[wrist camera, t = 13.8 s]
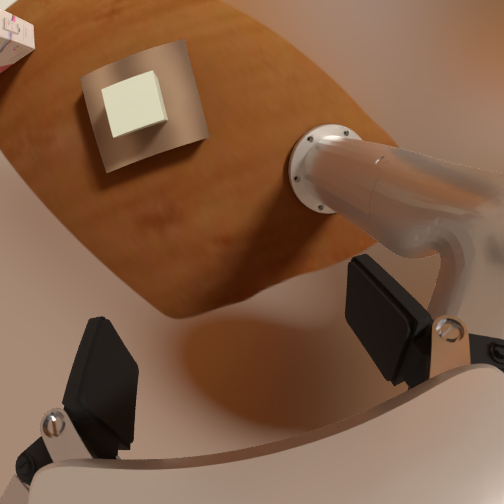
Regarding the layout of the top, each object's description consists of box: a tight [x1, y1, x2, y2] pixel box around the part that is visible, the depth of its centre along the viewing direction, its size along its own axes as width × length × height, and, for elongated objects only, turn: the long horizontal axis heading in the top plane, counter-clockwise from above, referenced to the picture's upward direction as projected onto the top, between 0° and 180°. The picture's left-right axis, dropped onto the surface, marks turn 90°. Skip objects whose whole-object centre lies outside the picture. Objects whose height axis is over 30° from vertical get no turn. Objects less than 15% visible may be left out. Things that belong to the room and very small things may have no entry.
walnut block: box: [80, 39, 210, 173], centre depth 25 cm, size 12×12×4 cm
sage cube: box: [101, 70, 168, 138], centre depth 21 cm, size 5×5×4 cm
